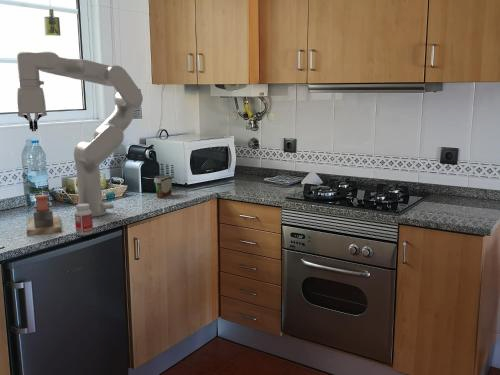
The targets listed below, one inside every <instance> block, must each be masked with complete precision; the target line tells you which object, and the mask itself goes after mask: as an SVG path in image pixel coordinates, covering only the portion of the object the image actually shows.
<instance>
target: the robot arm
mask: <svg viewBox="0 0 500 375" xmlns="http://www.w3.org/2000/svg"><path fill="white" fill-rule="evenodd" d="M16 60H17V71H18V82H19V83H18V84H19V87H17V93H16V94H17V99H16V100H17V101H16V102H17V111H18V112H17V117H20V118H24V119H26V120H27V121H28V122H29V123H28V124H29V130H31V132H32V133H33V132H37V130H39V129H38V121H39V120H40V118H42V117H46V116H47V115H48V114H47V110H46V109H47V107H46V98H45V93H44V89H43V87H41V86H43V85H45V81H44V80H41V79H40V72H43V73H47V74H50V75H55V76H61V77H65V78H69V79H70V78H71V79H75V80H77V81H78V80H79V81H83V82H88V83H94V84H97V85H101V86H107V87H114V89H115V91H116V93H115V95H114V103H115V106H114V107H115V109H114V111H113V112H112V113H111V115H110V116H108V118H107V119H105V121H103V123H101V124H100V125H99V126H98V127H97V128H96V129H95V130H94V132H93V138H94V139H92V141H90V140H82V141H80V142H78V143H77V144H76V146H74V150H73V157H74V158H73V159H74V164H75V168H76V180H77V192H78V193H77V194H78V204H89V210H91V211H92V218H97V217H101V216H105V215H106V214H107V210H108V209H109V210H113V209H114V208H115V206H114V203H113V204H111V203H110V204H109V203H104V202H103V199H102V198H103V197H102V196H103V195H102V181H101V168H100V165H101V164H104V162H106V160H107V159H108V158H110V157H111V155H112V154H113V153H114V152H116V151H117V150H118V149H119V147H121V146H122V143H123V142H124V139H125V135H124V131H125V130H126V129H127V128H128V127H129V126H130V124H131V123H132V121H133V118H134V109H138V108H139V107H141V105H142V103H143V94H142V92H141V89H140V88H139V87H138V85H137V84H136V83H135V82H134V80H133V78H132V77H131V75H130V74H129V73H128V72H127V71H126V70H125V68H123V67H122V66H120V65H117V64H116V65H110V64H109V65H107V64H104V63H100V62H95V61H92V60H88V59H85V58H83V59H82V58H66V57H60V56H59V55H58V54H57V53H56V52H53V51H40V52H39V51H38V52H35V51H20V52H17V54H16ZM31 114H34V119H32V117H31Z"/></svg>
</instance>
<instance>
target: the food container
mask: <svg viewBox="0 0 500 375" xmlns="http://www.w3.org/2000/svg"><path fill="white" fill-rule="evenodd" d="M172 181H173V176H172V175H171V174H169V175H168V174H166V175H158V176H157V175H156V176H154V179H153V182H154V184H155V189H156V190H155V191H156V198H157V199H161V200H163V199H166V198H168V197H170V196H172V191H173V190H172V187H173V186H172V183H173V182H172Z"/></svg>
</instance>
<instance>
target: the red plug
mask: <svg viewBox="0 0 500 375" xmlns="http://www.w3.org/2000/svg"><path fill="white" fill-rule="evenodd" d="M48 199H49V195H48V194H38V195H36V196H35V200H36V202H37V207H38V212H40V211H48V205H47V202H48Z"/></svg>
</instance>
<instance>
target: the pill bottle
mask: <svg viewBox="0 0 500 375" xmlns="http://www.w3.org/2000/svg"><path fill="white" fill-rule="evenodd" d="M75 209H76V211H75V212H74V225H75V234H76V235H77V236H89V235H92V234H93V233H94V225H93V224H94V223H93V222H94V221H93V217H92V211H91V210H89V204H79V203H78V204H76V205H75Z"/></svg>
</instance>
